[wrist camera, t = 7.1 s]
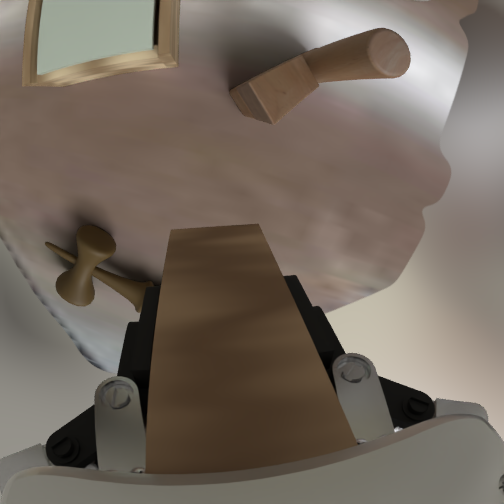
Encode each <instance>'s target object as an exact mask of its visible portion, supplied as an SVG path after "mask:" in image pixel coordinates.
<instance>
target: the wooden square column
mask: <svg viewBox="0 0 504 504" xmlns="http://www.w3.org/2000/svg"><path fill="white" fill-rule="evenodd" d="M357 445H358V444H357V441H356V439H355V437H354V434H353V432H352V430H351V427H350V425H349V423H348V420H347V418H346V416H345V413H344V411H343V409H342V407H341V404H340V402H339V400H338V397H337V395H336V393H335V390H334V388H333V386H332V384H331V381H330V379H329V377H328V375H327V372H326V370H325V368H324V366H323V363H322V361H321V359H320V357H319V354H318V352H317V350H316V348H315V345H314V343H313V341H312V339H311V336H310V334H309V332H308V330H307V328H306V325H305V323H304V321H303V319H302V317H301V314H300V312H299V310H298V308H297V306H296V303H295V301H294V299H293V297H292V295H291V292H290V290H289V288H288V286H287V284H286V282H285V279H284V277H283V275H282V273H281V271H280V269H279V266H278V264H277V262H276V260H275V258H274V256H273V254H272V251H271V249H270V247H269V245H268V243H267V241H266V239H265V236H264V234H263V232H262V230H261V228H260V226H259V224H248V225H232V226H216V227H202V228H188V229H174V230H171V232H170V237H169V242H168V248H167V253H166V259H165V264H164V270H163V276H162V283H161V289H160V296H159V303H158V310H157V317H156V325H155V333H154V341H153V350H152V360H151V370H150V382H149V395H148V410H147V429H146V472H145V474H202V473H217V472H229V471H238V470H247V469H254V468H261V467H268V466H274V465H280V464H285V463H290V462H295V461H300V460H304V459H309V458H313V457H317V456H321V455H325V454H329V453H333V452H336V451H340V450H343V449H347V448H350V447H353V446H357Z"/></svg>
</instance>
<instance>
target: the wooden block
mask: <svg viewBox="0 0 504 504" xmlns="http://www.w3.org/2000/svg"><path fill="white" fill-rule="evenodd" d="M410 61H411V59H410V51H409V48H408V46H407V44H406V42H405V41H404V39H403V38H402V37H401V36H400V35H399V34H397V33H396V32H394V31H392V30H390V29H386V28H377V29H373V30H370V31H366V32H363V33H360V34H357V35H353V36H350V37H347V38H344V39H342V40H339V41H336V42H333V43H330V44H328V45H325V46H322V47H320V48H314V49H312V50H310V51H307V52H305V53H303V54H300V55H298V56H296V57H294V58H291V59H289V60H287V61H285V62H283V63H281V64H279V65H277V66H275V67H273V68H271V69H269V70H267V71H265V72H263V73H261V74H259V75H257V76H255V77H253V78H251V79H249V80H248V81H246V82H244V83H242V84H240V85H238V86H237V87H235V88H233V89H231V90H230V91H229V92H230V95H231V97H232V98H233V100H234V101H235V103H236V104H237V106H238V107H239V109H240V111H241V112H242V114H243V115H244V116H247V117H250V118H254V119H256V120H259V121H263V122H266V123H269V124H272V125H274V124H276V123H277V122H278V121H279V120H280V119H281V118H282V117H284V116H285V115H286V114H287V113H288V112H289V111H290V110H292V109H293V108H294V107H295V106H296V105H297V104H299V103H300V102H301V101H302V100H303V99H304V98H306V97H307V96H308V95H309V94H310V93H312V92H313V91H314V90H315V89H316V88H318V87H319V84H318V83H322V82H332V81H343V80H358V79H380V78H397V77H400V76H402V75H403V74H404V73H405V72H406V71H407V70H408V68H409V65H410Z"/></svg>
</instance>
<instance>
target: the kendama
mask: <svg viewBox="0 0 504 504" xmlns="http://www.w3.org/2000/svg"><path fill="white" fill-rule="evenodd" d="M76 241H77V248H78V257H76V256H74V255H73V254H71V253H69V252H67V251H65V250H63V249H61V248H59V247H58V246H56V245H54V244H52V243H49V242H45V245H46V246H47V247H48V248H49V249H51V250H52V251H54V252H55V253H57V254H58V255H60V256H62V257H63V258H65V259H66V260H68V261H70V262H71V263H73V264H75V265H74V267H73V268H72V269H70V270H68V271H66V272H64V273H62V274H61V275H60V276H59V277H58V278H57V281H56V290H57V292H58V294H59V295H60V296H61V297H62V298H63V299H64V300H66V301H67V302H69V303H71V304H74V305H76V306H87V305H89V304H91V302H92V301H93V299H94V295H95V290H94V286H93V283H92V275H93V276H94V277H96V278H97V279H99V280H100V281H102V282H103V283H105V284H106V285H108V286H109V287H111V288H112V289H114V290H115V291H117V292H118V293H120V294H121V295H122V296H124V297H125V298H126V299H128V300H129V301H130V302H131V303H132V304H133V305H134V306H135V310H136V311H137V312H138V313H140V312H141V309H142V304H143V299H144V295H145V290H146V287H149V286H154V285H153V283H152V281H147V282H137V281H133V280H130V279H127V278H124V277H121V276H118V275H116V274H113V273H110V272H108V271H106V270H103V269H101V268H99V267H96V266H97V265H98V264H99V263H100V262H102V261H104V260H105V259H107V258H109V257H111V256H112V255H113V253H114V252H115V250H116V243H115V241H114V239H113V238H112V237H111V236H110V235H109V234H108V233H107V232H105V231H104V230H102V229H100V228H98V227H95V226H91V225H85V226H82V227H80V228H79V229H78V231H77V234H76Z"/></svg>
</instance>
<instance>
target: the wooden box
mask: <svg viewBox="0 0 504 504" xmlns="http://www.w3.org/2000/svg"><path fill="white" fill-rule="evenodd" d="M42 3H43V0H29V4H28V10H27V17H26V25H25V35H24V47H23V68H22V86H58V87H65V86H69V85H72V84H76V83H80V82H85V81H89V80H93V79H98V78H103V77H108V76H113V75H119V74H125V73H131V72H138V71H145V70H153V69H162V68H172V67H178V54H179V15H180V0H156V4H155V22H154V50H148V51H141V52H134V53H128V54H122V55H117V56H112V57H107V58H102V59H97V60H93V61H89V62H84V63H81V64H77V65H73V66H69V67H66V68H62V69H59V70H56V71H52V72H49V73H46V74H43V75H37V55H38V38H39V27H40V18H41V10H42Z"/></svg>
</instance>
